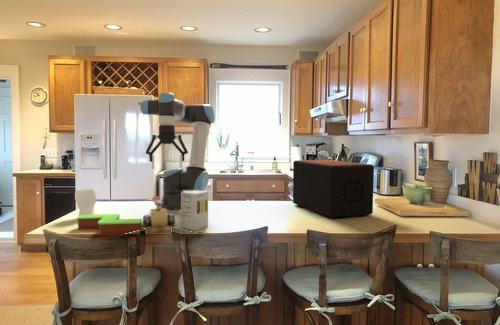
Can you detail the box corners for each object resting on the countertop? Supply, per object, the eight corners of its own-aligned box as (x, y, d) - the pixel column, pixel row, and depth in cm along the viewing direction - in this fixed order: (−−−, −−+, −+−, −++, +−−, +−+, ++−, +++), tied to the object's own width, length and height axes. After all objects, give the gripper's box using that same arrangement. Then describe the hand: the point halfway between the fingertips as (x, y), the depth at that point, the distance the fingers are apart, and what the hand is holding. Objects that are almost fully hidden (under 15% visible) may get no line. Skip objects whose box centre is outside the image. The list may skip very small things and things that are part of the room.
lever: (163, 205, 168) (163, 201, 168) (155, 205, 167) (155, 201, 166) (159, 199, 181) (159, 196, 181) (152, 200, 180) (151, 196, 180)
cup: (89, 220, 185) (88, 190, 184) (70, 219, 187) (70, 190, 186) (101, 215, 195) (101, 188, 194) (84, 215, 197) (83, 187, 196)
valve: (173, 222, 175) (172, 202, 174) (175, 225, 169) (174, 204, 169) (142, 225, 170) (142, 204, 169) (143, 228, 164) (143, 206, 164)
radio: (374, 216, 196) (375, 164, 194) (331, 220, 187) (332, 165, 185) (328, 202, 238) (329, 159, 236) (292, 205, 229) (292, 160, 227)
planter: (67, 237, 154) (66, 224, 153) (81, 227, 172) (80, 214, 171) (140, 235, 158) (140, 222, 157) (146, 225, 176) (146, 213, 175)
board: (171, 222, 181) (170, 219, 181) (177, 231, 163) (177, 228, 163) (141, 224, 177) (141, 221, 176) (145, 234, 158) (145, 231, 158)
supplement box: (195, 230, 165) (195, 193, 164) (180, 227, 170) (180, 192, 169) (208, 226, 173) (208, 191, 172) (193, 223, 178) (193, 189, 177)
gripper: (190, 125, 186) (190, 167, 187) (139, 124, 178) (140, 168, 179) (193, 125, 179) (193, 168, 180) (140, 124, 171) (141, 169, 172)
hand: (167, 168), depth 180 cm, fingers open, 13 cm apart
